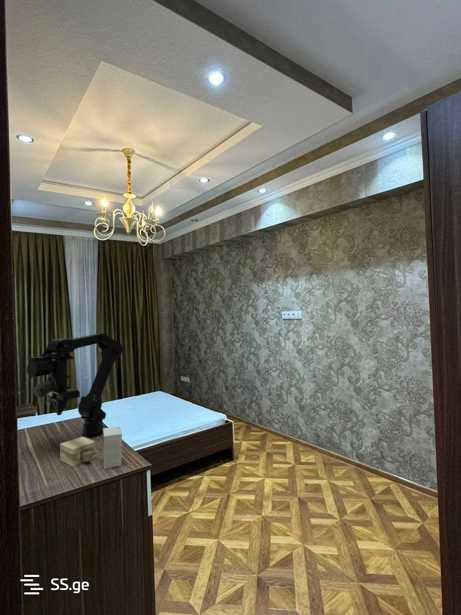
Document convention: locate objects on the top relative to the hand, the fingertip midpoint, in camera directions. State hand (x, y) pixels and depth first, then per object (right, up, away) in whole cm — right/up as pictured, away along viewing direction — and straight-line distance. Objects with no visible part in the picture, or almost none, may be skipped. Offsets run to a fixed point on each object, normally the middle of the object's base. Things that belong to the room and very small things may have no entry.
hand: (59, 415), depth 119 cm
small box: (+24, -12, -13) cm, 30 cm away
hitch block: (+12, -12, -10) cm, 19 cm away
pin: (+12, -12, -10) cm, 19 cm away
